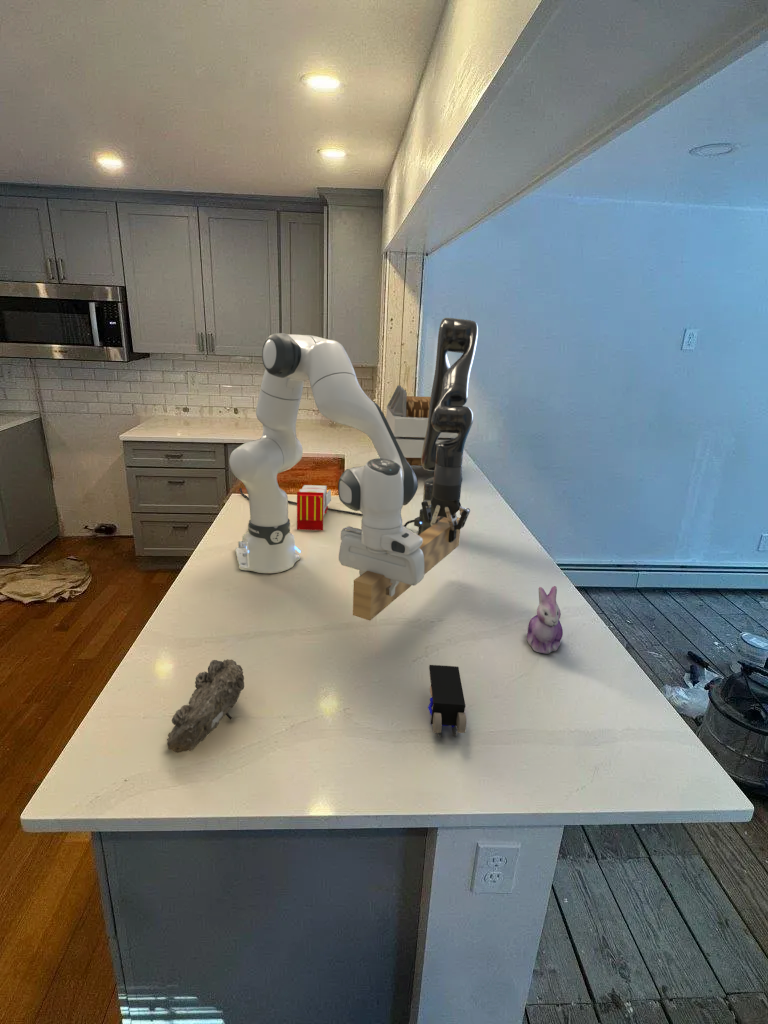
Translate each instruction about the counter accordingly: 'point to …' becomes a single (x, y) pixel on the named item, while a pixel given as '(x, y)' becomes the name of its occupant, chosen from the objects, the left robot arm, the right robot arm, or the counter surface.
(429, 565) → the post
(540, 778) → the counter surface
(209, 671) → the fossil
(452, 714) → the black wheeled block
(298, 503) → the toy
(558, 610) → the figurine
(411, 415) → the grey slatted crate
